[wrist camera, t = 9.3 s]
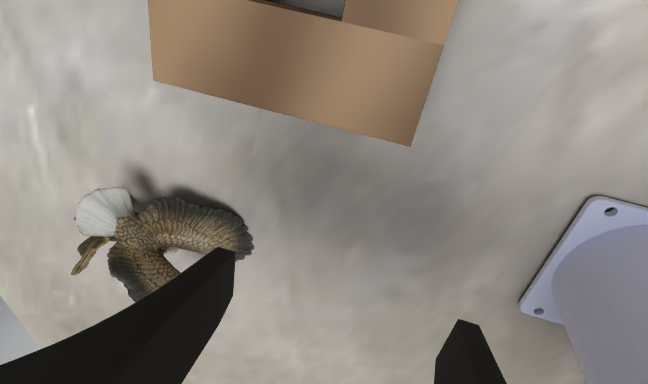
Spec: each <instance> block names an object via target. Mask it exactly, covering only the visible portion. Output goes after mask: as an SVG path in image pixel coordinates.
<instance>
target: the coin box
mask: <svg viewBox="0 0 648 384" xmlns="http://www.w3.org/2000/svg"><path fill="white" fill-rule="evenodd" d="M458 1H459V0H345V6H344V11H343V17H342V18H340V17H336V16H332V15H327V14H323V13H318V12H314V11H310V10H305V9H301V8H296V7H292V6H288V5H283V4H279V3H275V2H270V1H266V0H148V11H149V25H150V39H151V53H152V67H153V81H157V82H161V83H165V84H169V85H173V86H177V87H180V88H184V89H188V90H192V91H196V92H200V93H204V94H208V95H211V96H215V97H219V98H223V99H227V100H231V101H235V102H239V103H242V104H246V105H250V106H254V107H258V108H262V109H266V110H270V111H273V112H277V113H281V114H285V115H289V116H293V117H297V118H300V119H304V120H308V121H312V122H316V123H320V124H324V125H328V126H331V127H335V128H339V129H343V130H347V131H351V132H355V133H359V134H362V135H366V136H370V137H374V138H378V139H382V140H386V141H390V142H393V143H397V144H401V145H405V146H409V147H410V146H411V143H412V140H413V137H414V134H415V131H416V128H417V125H418V122H419V119H420V116H421V113H422V110H423V107H424V104H425V101H426V98H427V95H428V92H429V89H430V86H431V83H432V80H433V77H434V74H435V71H436V68H437V65H438V62H439V59H440V56H441V53H442V49H443V46H444V43H445V40H446V37H447V34H448V31H449V28H450V25H451V22H452V19H453V16H454V13H455V10H456V7H457V4H458Z"/></svg>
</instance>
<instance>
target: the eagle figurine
mask: <svg viewBox="0 0 648 384" xmlns="http://www.w3.org/2000/svg"><path fill="white" fill-rule="evenodd" d="M134 202H135V201H134V199H132V196H131V195H130V194H129V192H128V191H127V190H126V189H124V188H119V187H113V188H104V189H103V188H101V189H96V190H94V191H93V192H92V193H90V194H88V195H85V196H84V197H83V198H82V200H81V201H80V202H79V203H78V205H77V209H76V214H75V216H76V217H75V218H74V220H75V221H76V225H77V227H78V229H79V232H80V233H82V234H83V235H86V236H91V237H89V238H88V239H87V240H85V241H84V242H83V243H81V244H80V245H79V247H78V249H77V250H78V252H80V255H81V256H82V258H81V260H80V261H79V262H78V263H77V264H76V266H75V267H74V269H73V270H72V272H71V275H77V274H78V273H80V272H81V271H82V270H83V269H85V268H86V267H87V265H88V263H89V261H90V260H91V258H92V257H93V256H94V255H95V253H96V251H97V249H98V248H99V247H100V246H102V245H104V244H106V243H107V242H108V241H110V240H111V241H117V243H116V244H115V245H114V246H113V247H112V248H110V249H109V253H108V254H107V257H109V259H108V265H109V270H110V274H111V276H112V277H116V278H117V279H118V280H119V281H121V282H123V283H124V286H125V287H126V288H127V289H128V295H129V297H131V298H132V299H133V300H134V301H135V302H137V301H139V300H141V299H142V298H144V297H145V296H147V295H149V294H150V293H152V292H153V291H155V290H157V289H158V288H160V287H161V286H163V285H164V284H166V283H167V282H169V281H170V280H172V279H173V278H175V277H176V276H177V275H179V274H180V272H179V271H178V270H177V269H175V268H174V267H173V266H172V265H171V263H170V262H169V261H168V260H167V259H166V258H165V257H164V255H163V254H174V253H176V252H177V250H178V249H179V248H180V249H185V250H190V251H194V252H197V253H201V254H208V253H209V252H211V251H212V250H213V249H215V248H216V247H221V248H224V249H228V250H231V251H234V252H236V255H235V262H236V261H237V260H242V259H244V257H245V255H251V254H252V252H251V250H253V249H254V245H253V244H252V243H251V241H253V238H252V237H251V236H250V235H249V234H248V233H245V232H246V231H247V230H248V228H247V227H246V226H244V225H242V224H243V221H242V220H241V219H239V218H238V217H237V216H235V215H232V214H231V213H230V212H227V211H224V210H223V209H216V210H214V209H213V208H209V207H207V206H205V207H200V206H198V205H193V204H192V203H187V204H186V203H185V201H184V200H180V199H179V198H178V197H175V198H173V197H168V198H164V197H160V198H159V199H156V200H154V201H153V204H152V205H148V206H147V207H146V210H140V212H139V213H137V212H135V211H134V208H133V205H134Z"/></svg>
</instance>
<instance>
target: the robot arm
mask: <svg viewBox="0 0 648 384" xmlns="http://www.w3.org/2000/svg"><path fill="white" fill-rule="evenodd" d="M610 207H614V209H613V210H612V211H609V212H605V210H606V209H607V208H610ZM235 255H236V252H234V251H231V250H228V249H224V248H221V247H216V248H215V249H213V250H212V251H211V252H209V253H208V254H207V255H205V256H204V257H203V258H201V259H200V260H198V261H197V262H196V263H194V264H193V265H192V266H190V267H189V268H187V269H186V270H185V271H183V272H182V273H180V274H179V275H177V276H176V277H175V278H173V279H172V280H170V281H169V282H167V283H166V284H164V285H163V286H161V287H160V288H158V289H157V290H155V291H153V292H152V293H150V294H149V295H147V296H145V297H144V298H142V299H141V300H139V301H137V302H136V303H134V304H132V305H131V306H129V307H127V308H125V309H124V310H122V311H120V312H118V313H117V314H115V315H113V316H111V317H109V318H107V319H105V320H103V321H101V322H100V323H98V324H96V325H94V326H92V327H89V328H87V329H85V330H83V331H81V332H79V333H77V334H75V335H73V336H71V337H68V338H66V339H64V340H62V341H60V342H57V343H55V344H53V345H50V346H48V347H45V348H43V349H40V350H38V351H36V352H33V353H30V354H28V355H25V356H23V357H20V358H18V359H15V360H13V361H10V362H8V363H5V364H2V365H0V384H181V383H182V382H183V380H184V379H185V377H186V376H187V374H188V372H189V371H190V369H191V368H192V366H193V365H194V363H195V361H196V360H197V358H198V357H199V355H200V354H201V352H202V350H203V349H204V347H205V346H206V344H207V343H208V341H209V339H210V338H211V336H212V335H213V333H214V331H215V330H216V328H217V327H218V325H219V323H220V321H221V319H222V317H223V315H224V313H225V311H226V309H227V307H228V305H229V303H230V301H231V298H232V296H233V287H234V271H235ZM519 307H520V311H521V312H522V313H524V314H527V315H531V316H534V317H537V318H541V319H544V320H547V321H551V322H554V323H558V324H561V325H564V326H565V329H566V332H567V334H568V337H569V339H570V342H571V345H572V347H573V350H574V353H575V355H576V358H577V361H578V363H579V366H580V368H581V371H582V374H583V376H584V379H585V382H586V384H648V208H646V207H642V206H639V205H635V204H631V203H627V202H623V201H619V200H615V199H612V198H608V197H604V196H595V197H592V198H590V199H589V200H588V201H587V202H586V203H585V204H584V206H583V207H582V209H581V210H580V212H579V213H578V215H577V216H576V218H575V219H574V221H573V222H572V224H571V225H570V227H569V228H568V230H567V231H566V233H565V234H564V236H563V237H562V239H561V240H560V242H559V243H558V245H557V246H556V248H555V249H554V251H553V252H552V254H551V255H550V257H549V258H548V260H547V261H546V263H545V264H544V266H543V267H542V269H541V270H540V272H539V273H538V275H537V276H536V278H535V279H534V281H533V282H532V284H531V285H530V287H529V288H528V290H527V291H526V293H525V294H524V296H523V297H522V299H521V300H520V302H519ZM537 308H541V309H538V310H537ZM434 384H507V383H506V381H505V379H504V377H503V375H502V373H501V371H500V369H499V367H498V365H497V363H496V361H495V359H494V357H493V354H492V352H491V350H490V348H489V346H488V344H487V342H486V339H485V337H484V335H483V333H482V331H481V329H480V327H479V325H477V324H473V323H470V322H467V321H463V320H460V319H458V320H457V322H456V324H455V326H454V328H453V329H452V331H451V333H450V335H449V337H448V338H447V340H446V342H445V344H444V345H443V347H442V349H441V351H440V353H439V354H438V356H437V358H436V364H435V377H434Z"/></svg>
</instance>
